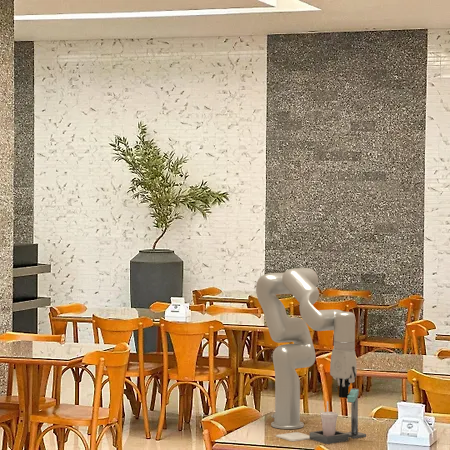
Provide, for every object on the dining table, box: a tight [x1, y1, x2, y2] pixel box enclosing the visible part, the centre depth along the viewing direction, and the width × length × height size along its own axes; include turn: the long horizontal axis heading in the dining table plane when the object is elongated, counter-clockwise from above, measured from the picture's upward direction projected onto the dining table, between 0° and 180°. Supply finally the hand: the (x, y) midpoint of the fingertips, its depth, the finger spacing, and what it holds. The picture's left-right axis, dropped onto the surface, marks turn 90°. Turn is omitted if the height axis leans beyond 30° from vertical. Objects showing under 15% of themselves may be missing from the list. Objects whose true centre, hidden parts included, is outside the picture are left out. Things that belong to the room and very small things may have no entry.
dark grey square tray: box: [309, 429, 349, 445], centre depth 364 cm, size 10×10×2 cm
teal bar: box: [346, 388, 360, 403], centre depth 363 cm, size 18×3×2 cm, turn 168°
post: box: [346, 395, 367, 439], centre depth 370 cm, size 6×6×15 cm
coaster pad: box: [275, 431, 311, 442], centre depth 368 cm, size 10×10×1 cm
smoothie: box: [320, 400, 339, 436], centre depth 364 cm, size 6×6×14 cm
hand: (343, 397), depth 362 cm, fingers closed
